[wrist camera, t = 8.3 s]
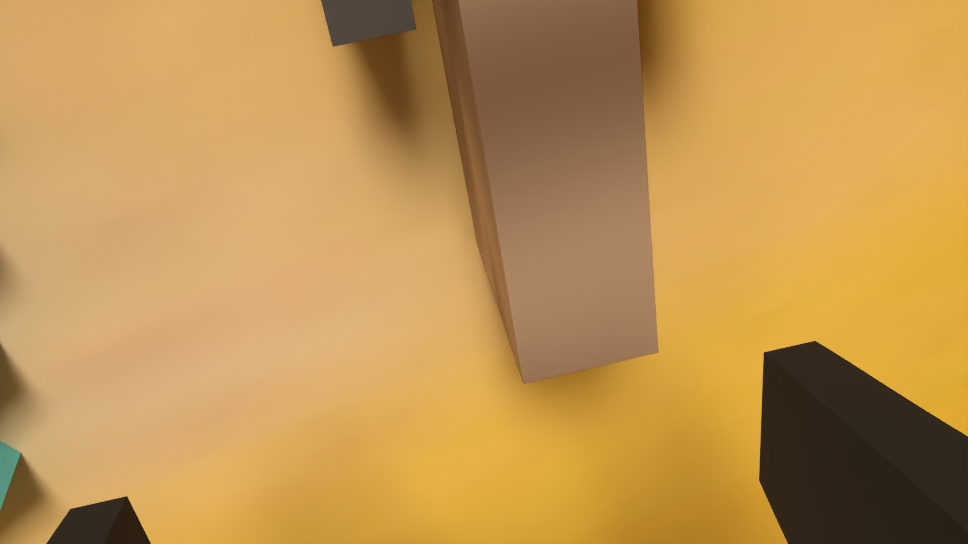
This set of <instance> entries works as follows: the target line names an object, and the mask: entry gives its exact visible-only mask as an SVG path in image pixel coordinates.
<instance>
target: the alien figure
mask: <svg viewBox="0 0 968 544" xmlns="http://www.w3.org/2000/svg"><path fill="white" fill-rule="evenodd" d="M20 454H21V453H20V452H19V451H17V450H15V449H13V448H12V447H10V446H8V445H7V444H5V443H3V442H1V441H0V510H1V507H2V504H3V501H4V499H5V496H6V493H7V490H8V487H9V485H10V482H11V479H12V476H13V474H14V471H15V468H16V465H17V463H18V460H19V457H20Z"/></svg>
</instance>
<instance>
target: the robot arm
mask: <svg viewBox="0 0 968 544" xmlns="http://www.w3.org/2000/svg"><path fill="white" fill-rule="evenodd" d="M759 481H760V483H761V485H762V488H763V490H764V492H765V494H766V497H767V499H768V501H769V503H770V505H771V508H772V510H773V512H774V514H775V517H776V519H777V521H778V523H779V525H780V527H781V529H782V532H783V534H784V536H785V538H786V540H787V542H788V544H968V436H966V435H964V434H963V433H961V432H959V431H958V430H956V429H954V428H953V427H951V426H949V425H948V424H946V423H945V422H943V421H941V420H940V419H938V418H937V417H935V416H933V415H932V414H930V413H928V412H927V411H925V410H924V409H922V408H920V407H919V406H917V405H916V404H914V403H913V402H911V401H909V400H908V399H906V398H905V397H903V396H902V395H900V394H898V393H897V392H895V391H894V390H892V389H890V388H889V387H887V386H886V385H884V384H883V383H881V382H879V381H878V380H876V379H875V378H873V377H872V376H870V375H869V374H867V373H865V372H864V371H862V370H861V369H859V368H858V367H856V366H855V365H853V364H851V363H850V362H848V361H847V360H845V359H844V358H842V357H840V356H839V355H837V354H836V353H834V352H832V351H831V350H829V349H828V348H826V347H824V346H823V345H821V344H819V343H818V342H816V341H813V342H808V343H804V344H800V345H795V346H791V347H786V348H782V349H777V350H773V351H769V352H764V365H763V392H762V419H761V446H760V473H759ZM46 544H151V543H150V541H149V539H148V537H147V535H146V533H145V531H144V529H143V527H142V525H141V523H140V521H139V519H138V517H137V515H136V513H135V511H134V509H133V507H132V505H131V503H130V501H129V499H128V497H127V496H126V497H122V498H118V499H113V500H109V501H104V502H100V503H95V504H91V505H87V506H82V507H78V508H73V509H70V510H69V512H68V513H67V515H66V516H65V518H64V519H63V520H62V522H61V523H60V525H59V526H58V528H57V529H56V530H55V532H54V533H53V535H52V536H51V538H50V539H49V541H48V542H47V543H46Z"/></svg>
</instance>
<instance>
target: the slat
mask: <svg viewBox="0 0 968 544" xmlns="http://www.w3.org/2000/svg"><path fill="white" fill-rule="evenodd" d="M432 4H433V9H434V14H435V20H436V25H437V30H438V36H439V41H440V47H441V52H442V57H443V63H444V68H445V74H446V79H447V84H448V90H449V95H450V101H451V106H452V111H453V117H454V122H455V127H456V133H457V138H458V144H459V149H460V154H461V160H462V165H463V171H464V176H465V181H466V187H467V192H468V198H469V203H470V208H471V214H472V219H473V224H474V230H475V235H476V241H477V244H478V247H479V251H480V254H481V257H482V260H483V263H484V266H485V269H486V272H487V275H488V278H489V281H490V284H491V287H492V290H493V293H494V296H495V299H496V302H497V305H498V308H499V311H500V314H501V317H502V320H503V324H504V327H505V330H506V333H507V336H508V339H509V342H510V345H511V348H512V351H513V354H514V357H515V360H516V363H517V366H518V369H519V372H520V375H521V378H522V381H523V384H525V383H529V382H534V381H538V380H542V379H547V378H551V377H555V376H559V375H564V374H568V373H572V372H576V371H581V370H585V369H589V368H594V367H598V366H602V365H606V364H611V363H615V362H619V361H623V360H628V359H632V358H636V357H641V356H645V355H649V354H653V353H658V340H657V323H656V307H655V290H654V274H653V257H652V241H651V224H650V207H649V191H648V174H647V158H646V141H645V125H644V108H643V92H642V75H641V58H640V42H639V25H638V9H637V0H432Z"/></svg>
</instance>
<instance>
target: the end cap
mask: <svg viewBox="0 0 968 544" xmlns="http://www.w3.org/2000/svg"><path fill="white" fill-rule="evenodd" d="M321 1H322V5H323V9H324V13H325V17H326V21H327V25H328V29H329V33H330V37H331V41H332V45H333V46H338V45H343V44H348V43H352V42H357V41H362V40H367V39H372V38H376V37H381V36H386V35H391V34H395V33H400V32H405V31H410V30H415V29H416V24H415V19H414V14H413V9H412V4H411V0H321Z"/></svg>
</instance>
